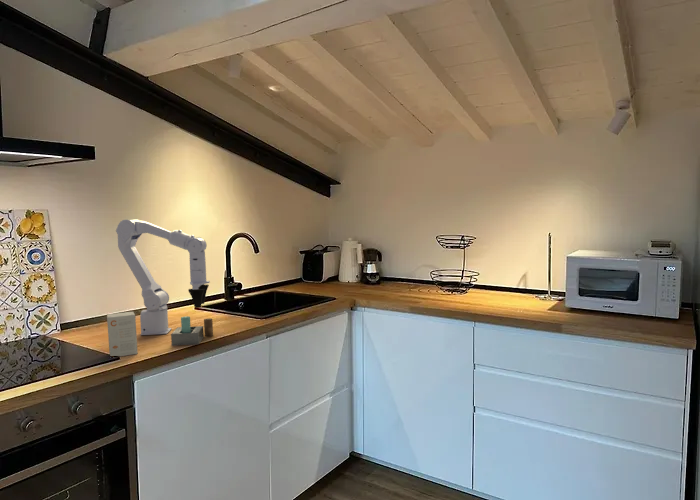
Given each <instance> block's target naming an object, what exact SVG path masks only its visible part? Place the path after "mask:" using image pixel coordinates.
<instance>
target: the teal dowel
mask: <svg viewBox="0 0 700 500" xmlns="http://www.w3.org/2000/svg"><path fill="white" fill-rule="evenodd" d="M180 324H181V326H180V327H181V329H182V333H191V327H192V326H191V317H190V316H186V315H185V316H182V317H180Z"/></svg>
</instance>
